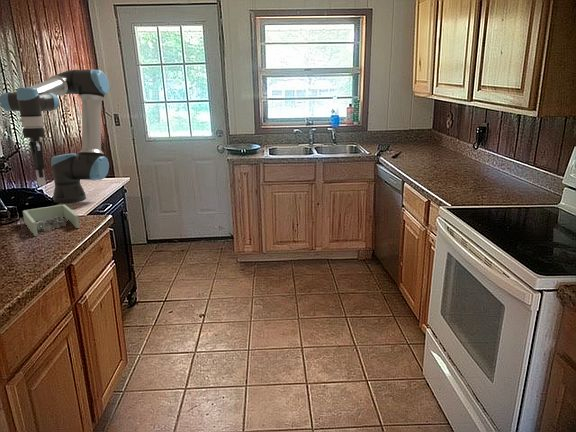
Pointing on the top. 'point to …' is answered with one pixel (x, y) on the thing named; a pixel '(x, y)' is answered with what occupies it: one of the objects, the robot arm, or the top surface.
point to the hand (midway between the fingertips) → (42, 184)
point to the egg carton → (52, 223)
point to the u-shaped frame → (48, 216)
